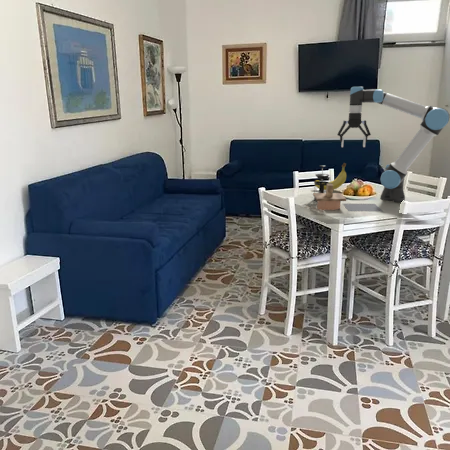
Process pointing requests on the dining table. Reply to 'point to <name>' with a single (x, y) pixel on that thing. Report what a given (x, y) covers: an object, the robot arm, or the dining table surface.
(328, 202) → the bowl
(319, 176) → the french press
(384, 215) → the dining table surface
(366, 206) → the mat
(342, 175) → the banana
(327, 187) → the lid
